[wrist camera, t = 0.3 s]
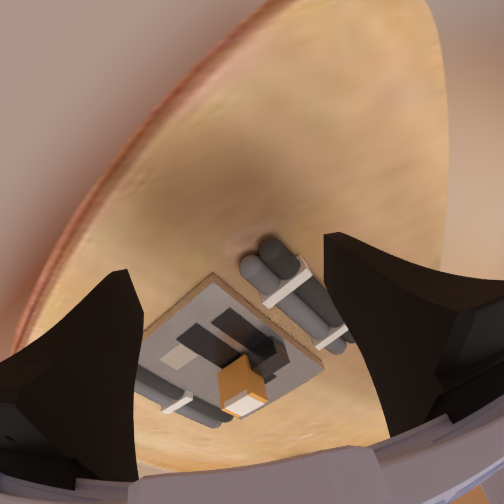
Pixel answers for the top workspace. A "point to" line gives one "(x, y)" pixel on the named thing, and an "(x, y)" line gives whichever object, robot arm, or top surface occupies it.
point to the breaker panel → (223, 345)
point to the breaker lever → (241, 388)
